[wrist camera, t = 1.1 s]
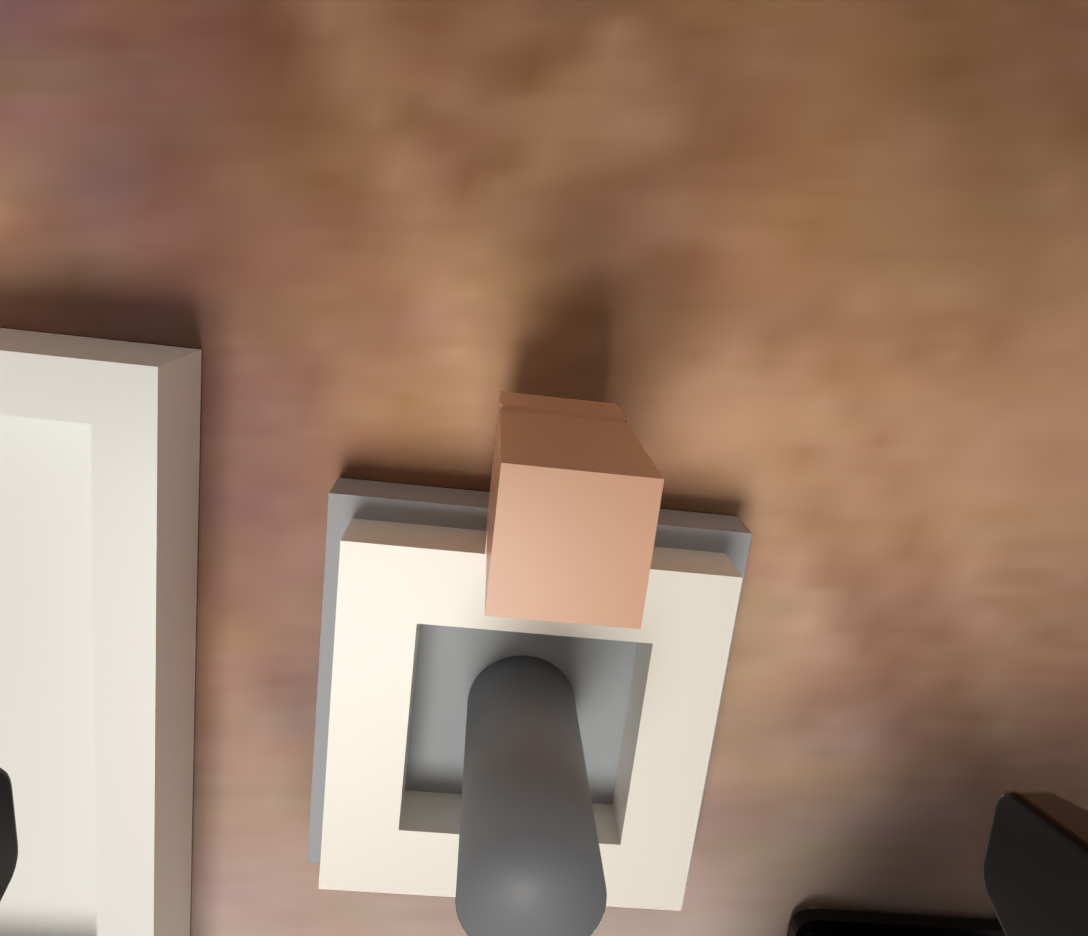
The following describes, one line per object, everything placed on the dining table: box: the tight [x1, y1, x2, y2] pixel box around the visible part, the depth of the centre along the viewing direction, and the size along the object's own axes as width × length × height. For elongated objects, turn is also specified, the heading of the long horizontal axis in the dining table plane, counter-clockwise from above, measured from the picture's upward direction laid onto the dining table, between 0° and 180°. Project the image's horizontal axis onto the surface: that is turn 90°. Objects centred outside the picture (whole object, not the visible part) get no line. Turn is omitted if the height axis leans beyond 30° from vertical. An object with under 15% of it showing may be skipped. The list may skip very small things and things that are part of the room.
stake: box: [307, 478, 752, 936], centre depth 17 cm, size 9×9×7 cm
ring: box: [319, 391, 743, 911], centre depth 17 cm, size 8×11×5 cm
